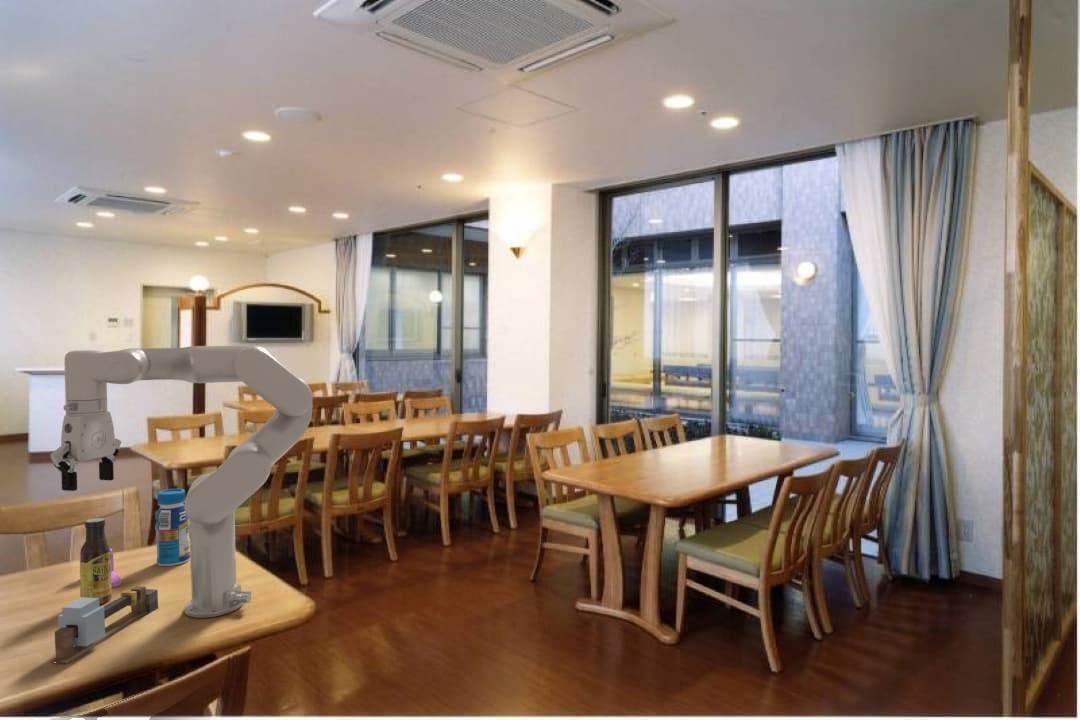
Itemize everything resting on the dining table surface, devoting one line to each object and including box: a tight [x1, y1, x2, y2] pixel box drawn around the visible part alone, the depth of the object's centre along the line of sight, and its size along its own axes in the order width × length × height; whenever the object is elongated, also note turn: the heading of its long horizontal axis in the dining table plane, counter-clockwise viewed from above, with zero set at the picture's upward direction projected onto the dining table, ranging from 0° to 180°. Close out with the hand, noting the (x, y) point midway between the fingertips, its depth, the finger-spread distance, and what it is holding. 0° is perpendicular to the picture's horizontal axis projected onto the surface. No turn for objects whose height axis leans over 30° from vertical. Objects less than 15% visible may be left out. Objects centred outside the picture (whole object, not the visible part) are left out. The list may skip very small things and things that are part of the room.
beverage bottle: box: [154, 488, 190, 567], centre depth 187 cm, size 8×8×20 cm
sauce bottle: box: [79, 517, 112, 605], centre depth 160 cm, size 6×6×20 cm
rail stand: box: [52, 585, 159, 665], centre depth 145 cm, size 4×26×6 cm, turn 174°
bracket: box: [109, 547, 122, 589], centre depth 174 cm, size 13×6×7 cm, turn 44°
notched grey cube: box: [57, 597, 106, 646], centre depth 137 cm, size 6×5×8 cm
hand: (88, 484), depth 147 cm, fingers open, 9 cm apart
